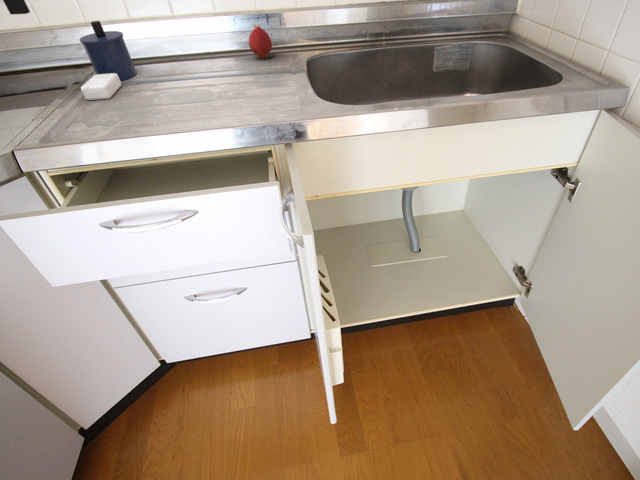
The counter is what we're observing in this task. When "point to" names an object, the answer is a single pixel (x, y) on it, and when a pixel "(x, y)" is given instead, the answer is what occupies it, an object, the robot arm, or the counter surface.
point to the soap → (101, 86)
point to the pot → (111, 58)
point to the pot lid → (100, 35)
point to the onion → (260, 42)
